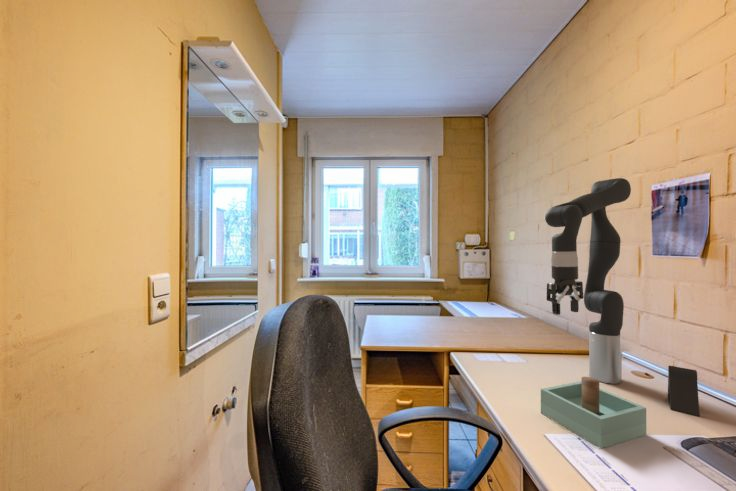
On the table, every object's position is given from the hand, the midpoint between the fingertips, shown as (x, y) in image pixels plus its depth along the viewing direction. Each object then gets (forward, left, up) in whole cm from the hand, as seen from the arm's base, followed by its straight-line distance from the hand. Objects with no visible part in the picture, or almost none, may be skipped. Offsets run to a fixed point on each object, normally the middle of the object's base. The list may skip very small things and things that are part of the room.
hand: (565, 313), depth 103 cm
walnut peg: (+10, +15, -27) cm, 32 cm away
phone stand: (-26, +18, -27) cm, 42 cm away
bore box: (+10, +15, -27) cm, 32 cm away
